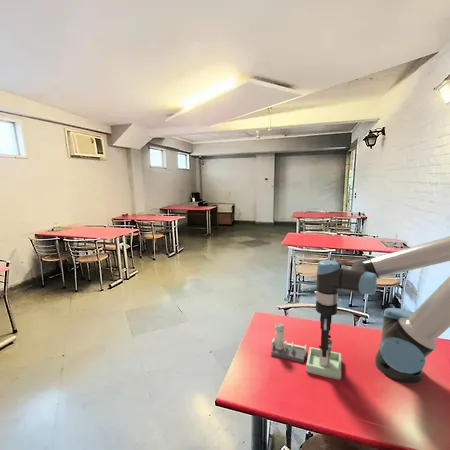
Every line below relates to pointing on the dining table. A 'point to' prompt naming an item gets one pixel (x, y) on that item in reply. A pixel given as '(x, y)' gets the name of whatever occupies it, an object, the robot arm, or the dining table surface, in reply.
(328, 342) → the fuse
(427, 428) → the dining table surface
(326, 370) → the parts tray
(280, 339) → the cylinder
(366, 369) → the dining table surface
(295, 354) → the block
